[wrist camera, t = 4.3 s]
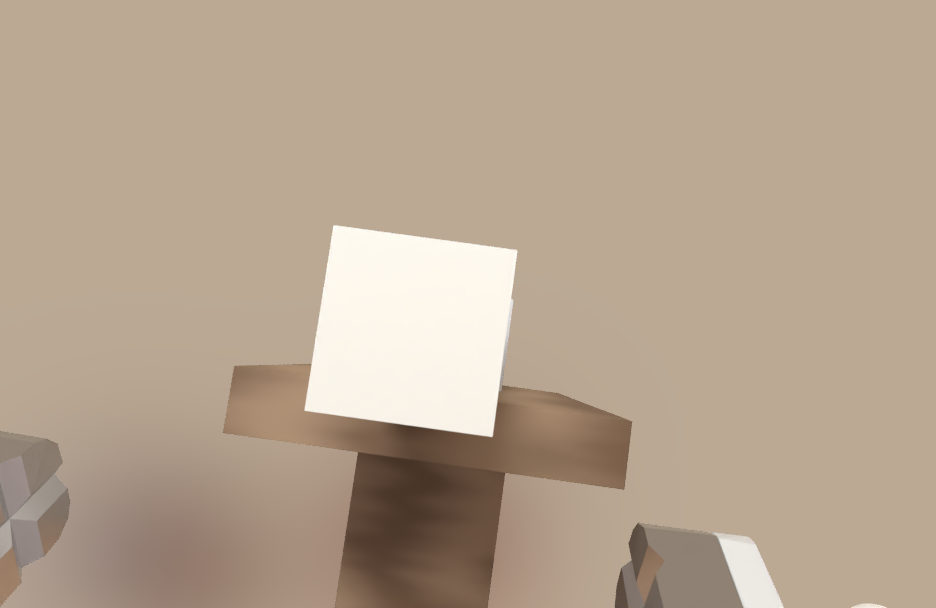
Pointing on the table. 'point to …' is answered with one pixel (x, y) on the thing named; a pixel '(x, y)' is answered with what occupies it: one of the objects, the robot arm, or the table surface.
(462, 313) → the bar
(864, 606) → the lightbulb
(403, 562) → the wooden i-beam block
